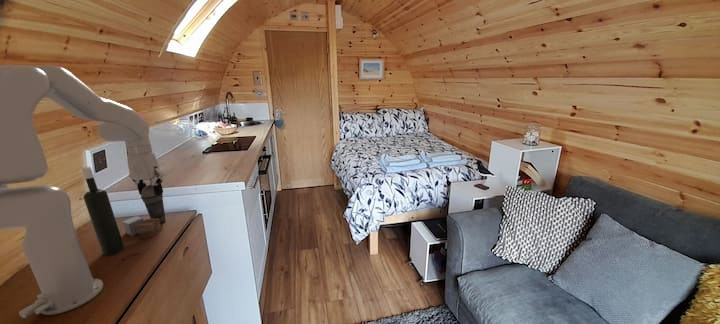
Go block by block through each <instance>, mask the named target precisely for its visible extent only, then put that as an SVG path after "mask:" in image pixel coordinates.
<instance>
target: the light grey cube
mask: <svg viewBox="0 0 720 324" xmlns="http://www.w3.org/2000/svg"><path fill="white" fill-rule="evenodd" d="M144 220H145V219H144V217H141V216H133V217H131V218H128V219H126V220H122V225H123V227H124V231H125V233H126V234H127V235H129V236H135V235H137V233H138V234H139V232H138V228H137V225H138V224H140V223H141V222H143V221H144Z"/></svg>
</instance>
